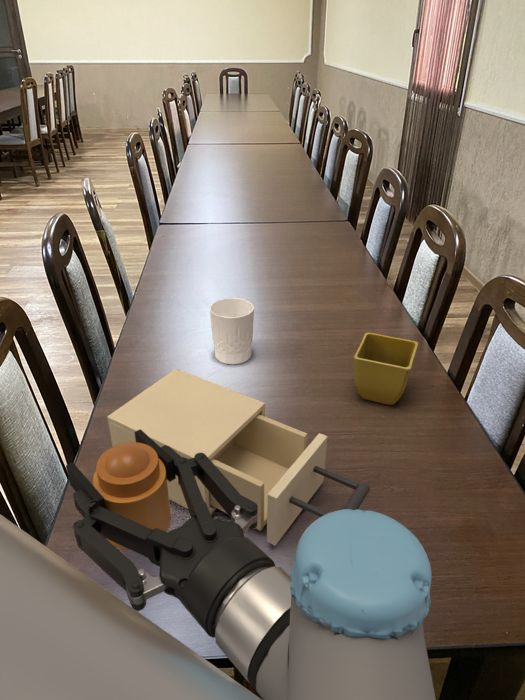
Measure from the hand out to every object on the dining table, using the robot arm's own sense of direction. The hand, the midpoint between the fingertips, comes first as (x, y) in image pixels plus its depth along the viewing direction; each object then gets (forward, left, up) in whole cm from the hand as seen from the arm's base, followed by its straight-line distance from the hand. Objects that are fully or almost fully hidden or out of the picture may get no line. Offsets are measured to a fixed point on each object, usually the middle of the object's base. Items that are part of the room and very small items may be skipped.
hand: (106, 456), depth 57 cm
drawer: (+15, -13, -12) cm, 23 cm away
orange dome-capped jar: (-1, -5, -6) cm, 8 cm away
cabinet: (+15, +1, -13) cm, 20 cm away
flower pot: (+45, -15, -14) cm, 49 cm away
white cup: (+42, +13, -14) cm, 46 cm away
